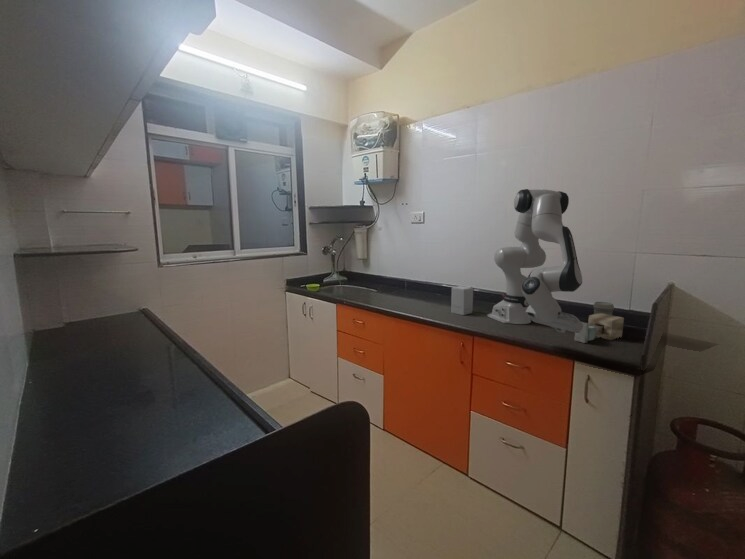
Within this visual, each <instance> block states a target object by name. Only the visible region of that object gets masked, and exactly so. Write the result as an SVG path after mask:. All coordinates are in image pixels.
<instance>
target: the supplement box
mask: <svg viewBox="0 0 745 559" xmlns="http://www.w3.org/2000/svg"><path fill="white" fill-rule="evenodd" d="M450 295H451V300H450V302H451V303H450V304H451V305H450V306H451V308H450V312H451V314H456V315H460V316H465V315H468V314H469V315H470V314H472V313H473V306H474V305H473V303H474V302H473V300H474V287H471V286H466V285H464V286H463V285H458V286H453V287H451V294H450Z"/></svg>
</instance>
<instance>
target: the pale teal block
mask: <svg viewBox="0 0 745 559" xmlns="http://www.w3.org/2000/svg"><path fill="white" fill-rule="evenodd" d="M595 337H596V336H595V327H593V326H589V331H588V341H593V340H595Z"/></svg>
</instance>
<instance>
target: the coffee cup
mask: <svg viewBox="0 0 745 559" xmlns="http://www.w3.org/2000/svg"><path fill="white" fill-rule="evenodd" d="M592 307H593V314H597V313H603V314H608V315H613V312H614V310H615V306H614V303H611V302H607V301H595V302H594V303H593V306H592Z"/></svg>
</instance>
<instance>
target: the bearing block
mask: <svg viewBox="0 0 745 559" xmlns="http://www.w3.org/2000/svg"><path fill="white" fill-rule="evenodd" d="M624 320H625V318H624V317H622V316H616V315H613V314H612V315H608V314H603V313H597V314H594V313H592V314H590V315H588V322H587V323H589V326H593V325H597V324H601V325H604V333H601V334H597V335H595V337H596V336H597V337H596V338H600V337H601V339H605V340H609V341H613V340H616V338H617V339H619V337H620V338H622V337H623V330H624V322H625V321H624Z"/></svg>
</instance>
